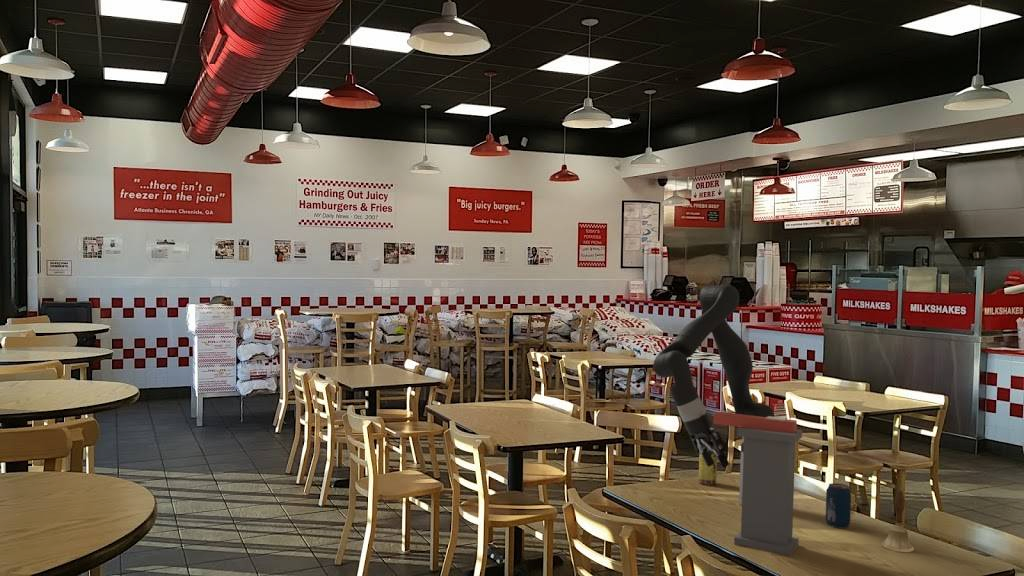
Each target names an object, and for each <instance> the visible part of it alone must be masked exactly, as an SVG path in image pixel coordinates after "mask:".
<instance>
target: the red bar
mask: <svg viewBox="0 0 1024 576" xmlns="http://www.w3.org/2000/svg"><path fill="white" fill-rule="evenodd" d="M712 420H713V421H712V423H713V425H721V426H729V427H738V428H740V427H744V428H753V429H761V430H769V431H778V432H786V433H795V432H796V429H797V424H798V423H797V420H795V419H788V418H787V417H780V416H779V417H778V416H775V417H772V416H768V417H760V416H751V415H742V414H735V413H733V412H722V411H716V412H714V413H713V419H712Z"/></svg>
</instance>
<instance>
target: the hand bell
mask: <svg viewBox="0 0 1024 576" xmlns="http://www.w3.org/2000/svg"><path fill="white" fill-rule="evenodd" d="M905 506H906V499H905V495H904V492H903V490H901V489H899V490H897V491H896V495H895V497H894V508H895V512H896V515H895V516H896V517H895V525H893V526H890V528H889V531H888V535H887V537H886V539H885V540H883V542H882V543H881V546H882V547H883V546H884V547H886V548H891V549H899V550H900V549H910V548H912V546H913V544H911V542H910V539H909V533H908V529H907V528H906V527H904V526H903V514H904V510H905ZM884 547H883V548H884ZM886 548H885V549H886Z"/></svg>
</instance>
